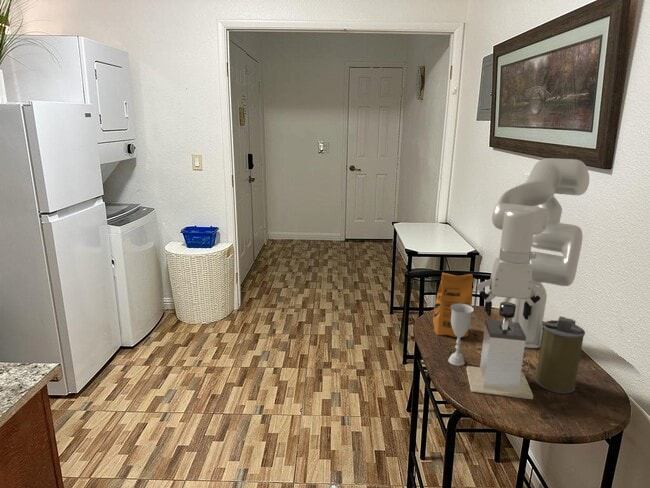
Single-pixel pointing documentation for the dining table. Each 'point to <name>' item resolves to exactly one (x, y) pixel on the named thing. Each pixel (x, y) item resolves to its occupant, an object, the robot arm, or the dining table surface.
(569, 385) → the canister
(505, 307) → the plunger
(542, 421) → the dining table surface
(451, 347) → the dining table surface
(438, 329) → the coffee package
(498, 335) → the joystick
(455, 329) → the chalice
